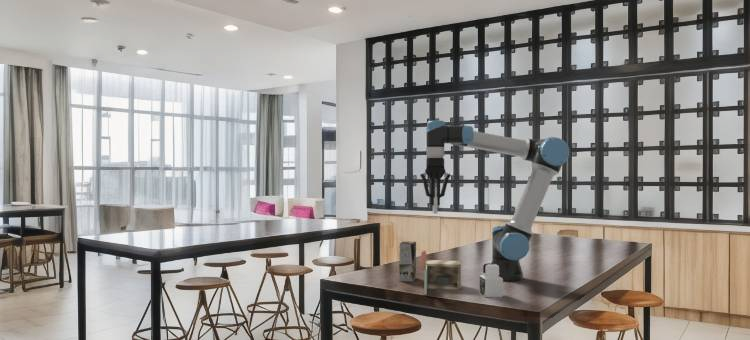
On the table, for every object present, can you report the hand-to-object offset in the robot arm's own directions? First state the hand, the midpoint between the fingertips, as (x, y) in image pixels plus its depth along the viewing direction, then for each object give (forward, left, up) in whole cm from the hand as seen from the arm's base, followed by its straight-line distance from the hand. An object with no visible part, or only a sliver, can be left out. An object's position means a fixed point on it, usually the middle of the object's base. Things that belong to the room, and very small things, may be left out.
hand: (435, 213), depth 238 cm
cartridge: (-4, +7, -29) cm, 30 cm away
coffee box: (+12, -5, -30) cm, 32 cm away
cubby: (-4, +7, -29) cm, 30 cm away
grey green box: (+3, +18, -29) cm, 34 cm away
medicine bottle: (-23, +19, -30) cm, 42 cm away
